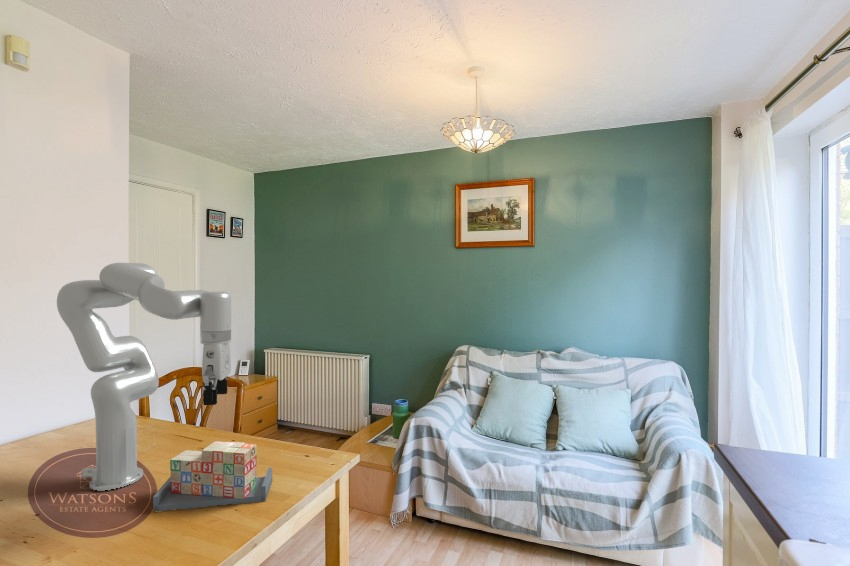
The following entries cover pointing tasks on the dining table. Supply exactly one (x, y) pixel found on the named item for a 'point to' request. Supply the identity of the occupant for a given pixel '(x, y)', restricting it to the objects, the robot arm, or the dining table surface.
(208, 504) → the board
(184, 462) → the stack of blocks
